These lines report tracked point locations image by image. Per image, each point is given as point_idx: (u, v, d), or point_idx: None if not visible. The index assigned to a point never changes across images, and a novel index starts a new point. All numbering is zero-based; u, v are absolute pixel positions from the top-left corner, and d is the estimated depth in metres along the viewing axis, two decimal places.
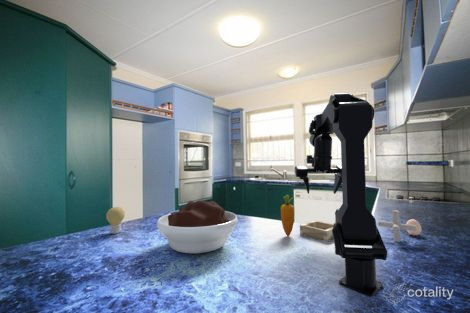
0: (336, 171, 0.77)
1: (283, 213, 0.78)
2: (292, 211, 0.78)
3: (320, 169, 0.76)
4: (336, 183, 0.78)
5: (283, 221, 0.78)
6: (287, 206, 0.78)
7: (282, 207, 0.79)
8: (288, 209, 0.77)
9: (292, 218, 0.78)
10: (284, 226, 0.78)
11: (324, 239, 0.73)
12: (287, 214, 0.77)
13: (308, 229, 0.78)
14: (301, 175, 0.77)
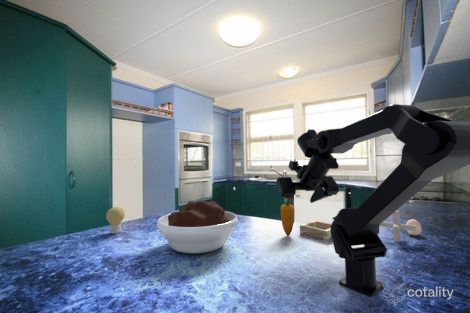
0: (322, 186, 0.67)
1: (282, 213, 0.78)
2: (292, 211, 0.78)
3: (309, 189, 0.63)
4: (317, 196, 0.69)
5: (283, 221, 0.78)
6: (287, 206, 0.78)
7: (282, 207, 0.79)
8: (288, 209, 0.77)
9: (292, 218, 0.78)
10: (284, 226, 0.78)
11: (324, 239, 0.73)
12: (287, 214, 0.77)
13: (308, 229, 0.78)
14: (287, 195, 0.63)
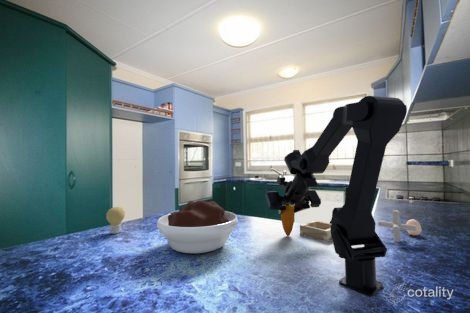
0: None
1: (283, 213, 0.78)
2: (292, 211, 0.78)
3: (294, 203, 0.72)
4: (297, 208, 0.78)
5: (283, 221, 0.78)
6: (287, 206, 0.78)
7: None
8: (288, 209, 0.77)
9: (292, 218, 0.78)
10: (284, 226, 0.78)
11: (324, 239, 0.73)
12: (287, 214, 0.77)
13: (308, 229, 0.78)
14: (275, 208, 0.72)
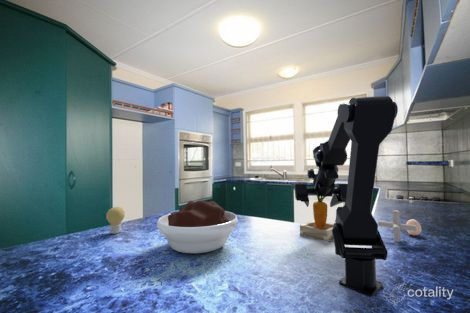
0: (336, 192, 0.75)
1: (314, 209, 0.80)
2: (323, 208, 0.78)
3: (321, 195, 0.73)
4: (334, 201, 0.78)
5: (314, 217, 0.80)
6: (318, 203, 0.79)
7: (314, 203, 0.81)
8: (318, 206, 0.78)
9: (323, 215, 0.78)
10: (315, 222, 0.80)
11: (324, 239, 0.73)
12: (317, 211, 0.79)
13: (308, 229, 0.78)
14: (301, 199, 0.75)
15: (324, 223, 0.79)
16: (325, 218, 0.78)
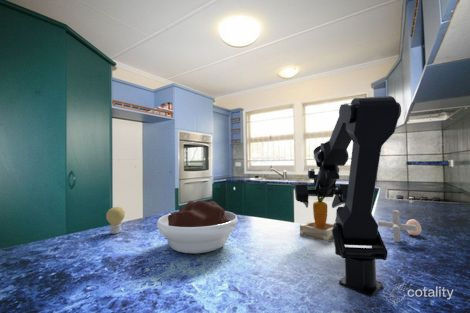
0: (338, 193, 0.74)
1: (314, 209, 0.80)
2: (323, 208, 0.78)
3: (321, 196, 0.72)
4: (336, 202, 0.77)
5: (314, 217, 0.80)
6: (318, 203, 0.79)
7: (314, 203, 0.81)
8: (318, 206, 0.78)
9: (323, 215, 0.78)
10: (315, 222, 0.80)
11: (324, 239, 0.73)
12: (317, 211, 0.79)
13: (308, 229, 0.78)
14: (301, 200, 0.74)
15: (324, 223, 0.79)
16: (325, 218, 0.79)
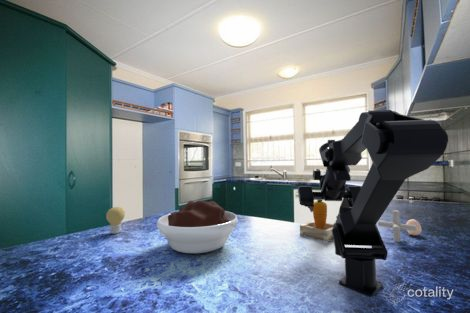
0: (347, 196, 0.66)
1: (313, 209, 0.80)
2: (322, 208, 0.78)
3: (329, 199, 0.64)
4: (344, 206, 0.68)
5: (314, 218, 0.80)
6: (317, 203, 0.79)
7: None
8: (318, 206, 0.78)
9: (322, 215, 0.78)
10: (315, 222, 0.80)
11: (324, 239, 0.73)
12: (317, 211, 0.79)
13: (308, 229, 0.78)
14: (306, 204, 0.66)
15: (324, 223, 0.79)
16: (325, 218, 0.79)
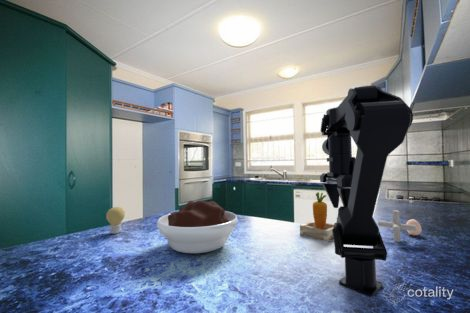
0: None
1: (313, 209, 0.80)
2: (322, 208, 0.78)
3: (328, 174, 0.61)
4: None
5: (314, 218, 0.80)
6: (317, 203, 0.79)
7: (313, 203, 0.81)
8: (318, 206, 0.78)
9: (323, 215, 0.78)
10: (315, 222, 0.80)
11: (324, 239, 0.73)
12: (317, 211, 0.79)
13: (308, 229, 0.78)
14: (321, 180, 0.68)
15: (324, 223, 0.79)
16: (325, 218, 0.79)
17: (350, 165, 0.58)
